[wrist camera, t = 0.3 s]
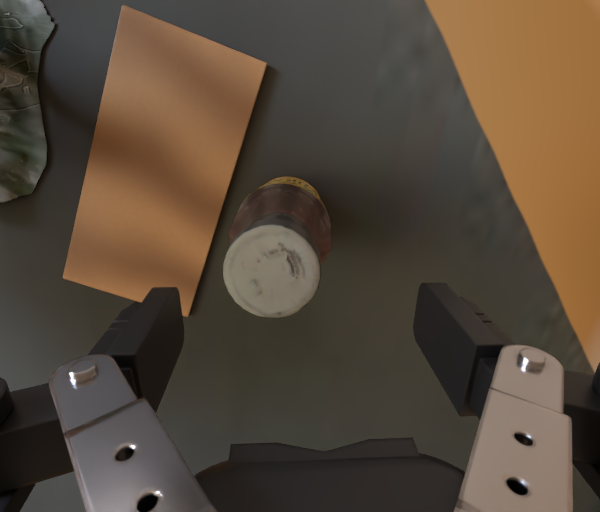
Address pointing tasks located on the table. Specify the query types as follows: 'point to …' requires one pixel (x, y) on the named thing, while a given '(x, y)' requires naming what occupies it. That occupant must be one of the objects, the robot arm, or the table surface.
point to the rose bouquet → (21, 96)
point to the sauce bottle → (277, 248)
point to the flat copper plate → (160, 159)
